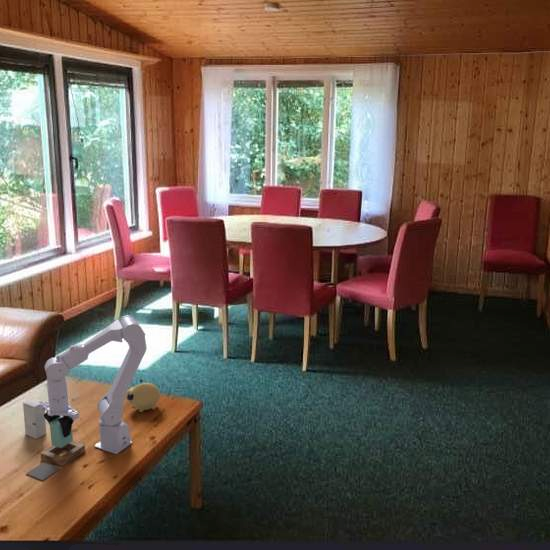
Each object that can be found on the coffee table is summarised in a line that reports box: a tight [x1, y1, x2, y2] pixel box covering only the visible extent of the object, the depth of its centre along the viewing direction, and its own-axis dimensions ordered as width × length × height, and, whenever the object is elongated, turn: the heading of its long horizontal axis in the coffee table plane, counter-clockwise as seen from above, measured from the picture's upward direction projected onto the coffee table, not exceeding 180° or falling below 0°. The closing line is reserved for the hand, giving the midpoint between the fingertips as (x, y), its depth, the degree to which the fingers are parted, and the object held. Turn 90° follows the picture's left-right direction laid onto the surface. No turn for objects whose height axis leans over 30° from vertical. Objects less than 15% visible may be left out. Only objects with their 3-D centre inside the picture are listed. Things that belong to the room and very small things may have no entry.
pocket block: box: [40, 440, 86, 468], centre depth 189 cm, size 9×10×2 cm
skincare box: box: [22, 397, 47, 440], centre depth 200 cm, size 6×4×12 cm
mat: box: [25, 461, 61, 482], centre depth 181 cm, size 7×7×1 cm
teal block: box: [49, 415, 74, 448], centre depth 187 cm, size 4×5×8 cm
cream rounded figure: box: [125, 382, 161, 413], centre depth 218 cm, size 10×12×11 cm
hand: (61, 434), depth 188 cm, fingers closed on teal block, 4 cm apart
